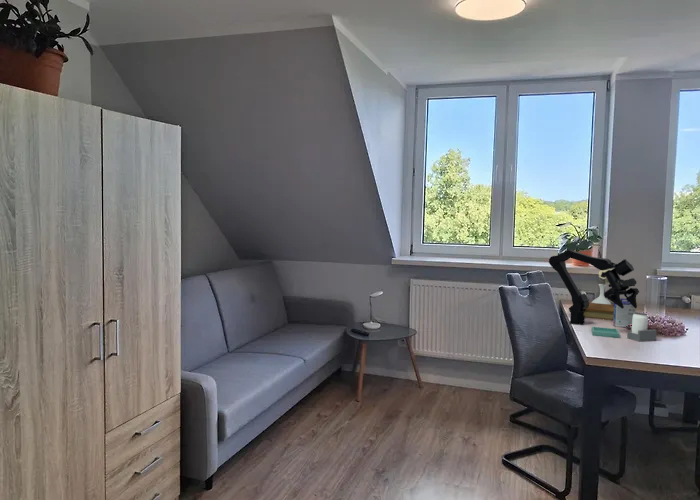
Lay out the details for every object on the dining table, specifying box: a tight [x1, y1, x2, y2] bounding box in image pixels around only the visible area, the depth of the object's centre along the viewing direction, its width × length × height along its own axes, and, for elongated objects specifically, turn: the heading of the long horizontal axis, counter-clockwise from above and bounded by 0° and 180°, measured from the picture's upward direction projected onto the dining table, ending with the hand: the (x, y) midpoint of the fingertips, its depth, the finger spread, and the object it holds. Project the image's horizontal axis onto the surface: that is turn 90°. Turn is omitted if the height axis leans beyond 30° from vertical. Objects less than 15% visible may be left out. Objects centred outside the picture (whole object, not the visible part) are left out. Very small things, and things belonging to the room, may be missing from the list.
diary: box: [584, 302, 614, 321], centre depth 310 cm, size 23×19×6 cm
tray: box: [591, 326, 620, 339], centre depth 263 cm, size 12×12×2 cm
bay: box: [626, 329, 657, 343], centre depth 255 cm, size 7×10×5 cm
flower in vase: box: [591, 269, 612, 305], centre depth 339 cm, size 13×11×25 cm
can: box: [631, 311, 649, 334], centre depth 256 cm, size 6×6×12 cm
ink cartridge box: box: [612, 297, 637, 328], centre depth 282 cm, size 10×6×14 cm, turn 78°
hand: (629, 308), depth 264 cm, fingers open, 9 cm apart
